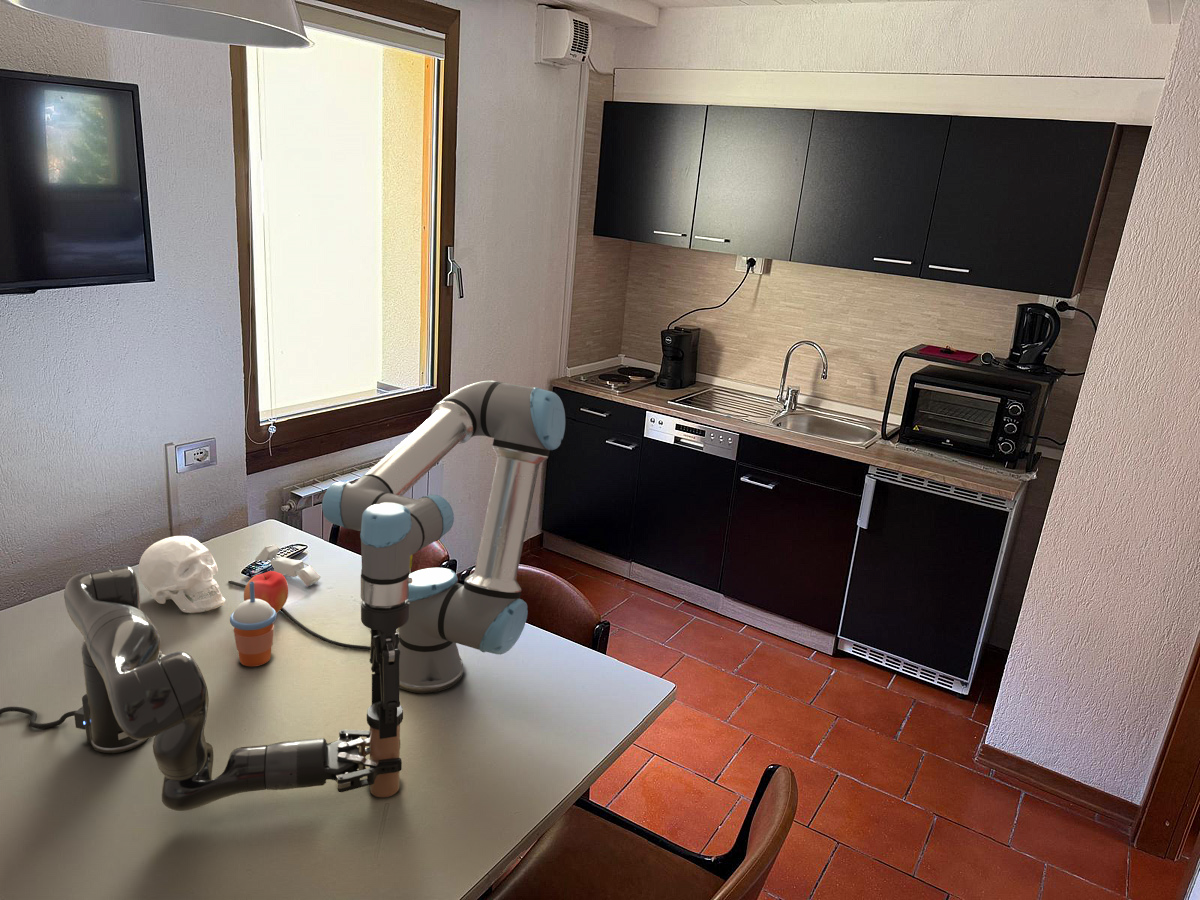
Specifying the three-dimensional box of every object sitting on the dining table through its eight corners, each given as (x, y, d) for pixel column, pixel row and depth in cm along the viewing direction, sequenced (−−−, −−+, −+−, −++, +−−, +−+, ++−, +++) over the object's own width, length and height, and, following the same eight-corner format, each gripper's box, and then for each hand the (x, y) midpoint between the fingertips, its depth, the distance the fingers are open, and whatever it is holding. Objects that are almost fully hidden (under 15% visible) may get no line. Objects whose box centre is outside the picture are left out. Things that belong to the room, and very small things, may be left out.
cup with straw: (262, 673, 177) (258, 595, 172) (223, 666, 179) (218, 588, 174) (286, 652, 186) (283, 577, 181) (248, 645, 187) (244, 570, 182)
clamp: (253, 565, 223) (254, 542, 221) (265, 560, 226) (266, 537, 224) (309, 593, 215) (310, 569, 213) (320, 588, 218) (321, 564, 216)
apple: (273, 600, 207) (272, 562, 204) (297, 613, 202) (296, 575, 199) (237, 614, 200) (234, 575, 197) (261, 628, 194) (259, 588, 191)
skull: (204, 622, 195) (202, 558, 191) (126, 603, 200) (122, 540, 196) (244, 599, 207) (242, 538, 203) (169, 582, 213) (166, 522, 209)
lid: (359, 726, 142) (359, 716, 141) (377, 706, 147) (377, 697, 147) (392, 733, 141) (392, 724, 140) (409, 713, 146) (409, 704, 146)
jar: (364, 793, 146) (364, 717, 142) (378, 775, 151) (378, 701, 146) (390, 800, 145) (391, 724, 141) (404, 781, 150) (405, 707, 145)
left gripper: (292, 773, 134) (403, 761, 139) (298, 719, 148) (399, 710, 152) (294, 812, 137) (402, 800, 141) (299, 756, 150) (398, 746, 154)
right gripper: (421, 626, 130) (418, 754, 136) (397, 570, 148) (396, 685, 154) (370, 632, 127) (369, 763, 133) (352, 574, 145) (353, 691, 151)
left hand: (400, 753), depth 147 cm, fingers closed on jar, 5 cm apart
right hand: (383, 721), depth 144 cm, fingers open, 8 cm apart
